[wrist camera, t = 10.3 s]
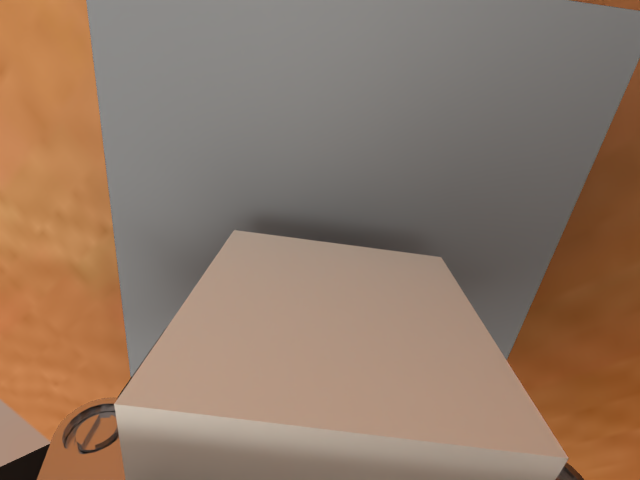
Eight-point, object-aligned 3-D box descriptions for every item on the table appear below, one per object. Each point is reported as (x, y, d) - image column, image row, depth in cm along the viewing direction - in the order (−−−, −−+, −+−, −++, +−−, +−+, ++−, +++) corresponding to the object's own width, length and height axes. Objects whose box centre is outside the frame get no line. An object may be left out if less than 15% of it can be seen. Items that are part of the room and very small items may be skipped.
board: (607, 25, 12) (659, 13, 10) (444, 439, 20) (455, 475, 18) (119, -46, 11) (77, -72, 9) (156, 404, 19) (138, 438, 17)
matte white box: (441, 256, 10) (568, 458, 5) (396, 406, 13) (446, 654, 7) (234, 230, 10) (113, 403, 5) (229, 385, 12) (146, 623, 7)
